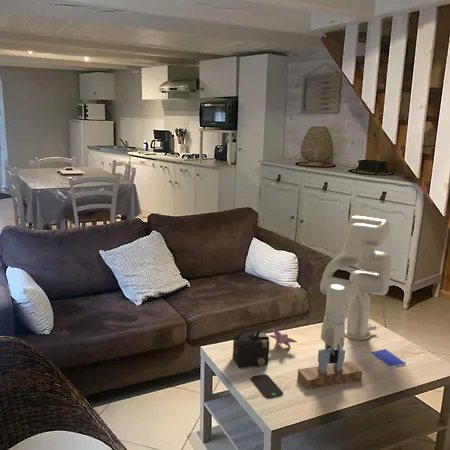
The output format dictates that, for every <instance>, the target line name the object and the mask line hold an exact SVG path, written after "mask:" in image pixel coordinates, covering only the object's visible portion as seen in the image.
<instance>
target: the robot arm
mask: <svg viewBox="0 0 450 450" xmlns="http://www.w3.org/2000/svg"><path fill="white" fill-rule="evenodd" d="M390 224H391V223H390V221H388V220H387V219H383V218H378V217H371V216H370V217H369V216H363V215H362V216H361V215H353V216H351V217H349V219H348V229H347V233H346V235H345V239H344V243H343V247H342V249H341V252H340V254H339V255H337V256H336V257H334V258H333V259H331V261H329V263H328V264H327V265H326V267H325V269H324V271H323V274H322V278H321V280H320V286H319V287H320V292H321V293H322V294H323V295H325V296H326V302H325V303H326V305H325V312H324V313H325V314H324V315H325V316H324V318H323V321H322V325H321V332H320V333H321V334H320V338H321V339H320V340H322V341H323V343H324V349H327V348H332V353H331V354H330V363H333V364H334V363H337V362H338V354H339V353H342V352H343V349H344V346H345V341H346V339H345V338H348V339H351V340H356V341H365V340H369V339H370V338H371V331H375V330H377V326H376V325H371V324H369V319H370V311H371V298H370V296H369V294H373V295H378V296H385V295H386V294H387V293H388V291H389V289H390V278H391V267H392V259H391V258H392V257H391V255H390V254H389V253H388V252H384V251H381V250H376V247H380V246H382V245H383V244H384V243H385V241H386V240H387V238H388V237H389V236H390V235H389V234H390V231H391V225H390ZM353 265H354V267H355V268H357V269H359V270H354V271H352V272H351V273H350V275H349V280H348V279H343V278H339V277H334V276H333V274H334V273H335V272H336V271H337V270H339V269H342V268H346V267H349V266H353ZM347 305H348V311H347ZM347 313H348V314H347ZM346 315H347V321H346ZM345 323H347V324H345ZM335 348H337V350H335Z"/></svg>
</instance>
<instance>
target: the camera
mask: <svg viewBox="0 0 450 450" xmlns="http://www.w3.org/2000/svg"><path fill="white" fill-rule="evenodd" d="M251 331H252V332H251ZM232 339H233V346H232V359H233V360H234V362H235V364H236V365H237V367H238V369H242V368H251V367H258V366H265V365H268V364H269V357H270V355H269V354H270V336H269V335H267V334H266V332H265V331H260V330H259V329H258V328H257V327H255V326H251V327H247V328H244V329H243V330H241V331H240V332H239V333H234V334H233V338H232Z"/></svg>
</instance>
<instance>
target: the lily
mask: <svg viewBox="0 0 450 450" xmlns="http://www.w3.org/2000/svg"><path fill="white" fill-rule="evenodd" d="M272 331H273V334H274V335H273V334H271V335H270V334H269V335H268V337H269V338H272V339H274V340H275V342H276V344H279V346H278V349H277V353H279V351H280V346H281V345H282V344H284V345H285V346H286V347H288V348H291V344H290V343H298V341H296V340H295V339H293V338H291V337H288V334H286V333H284V334H282V333H281V332H280V331H278V330H277V329H275V328H273V329H272Z"/></svg>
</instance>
